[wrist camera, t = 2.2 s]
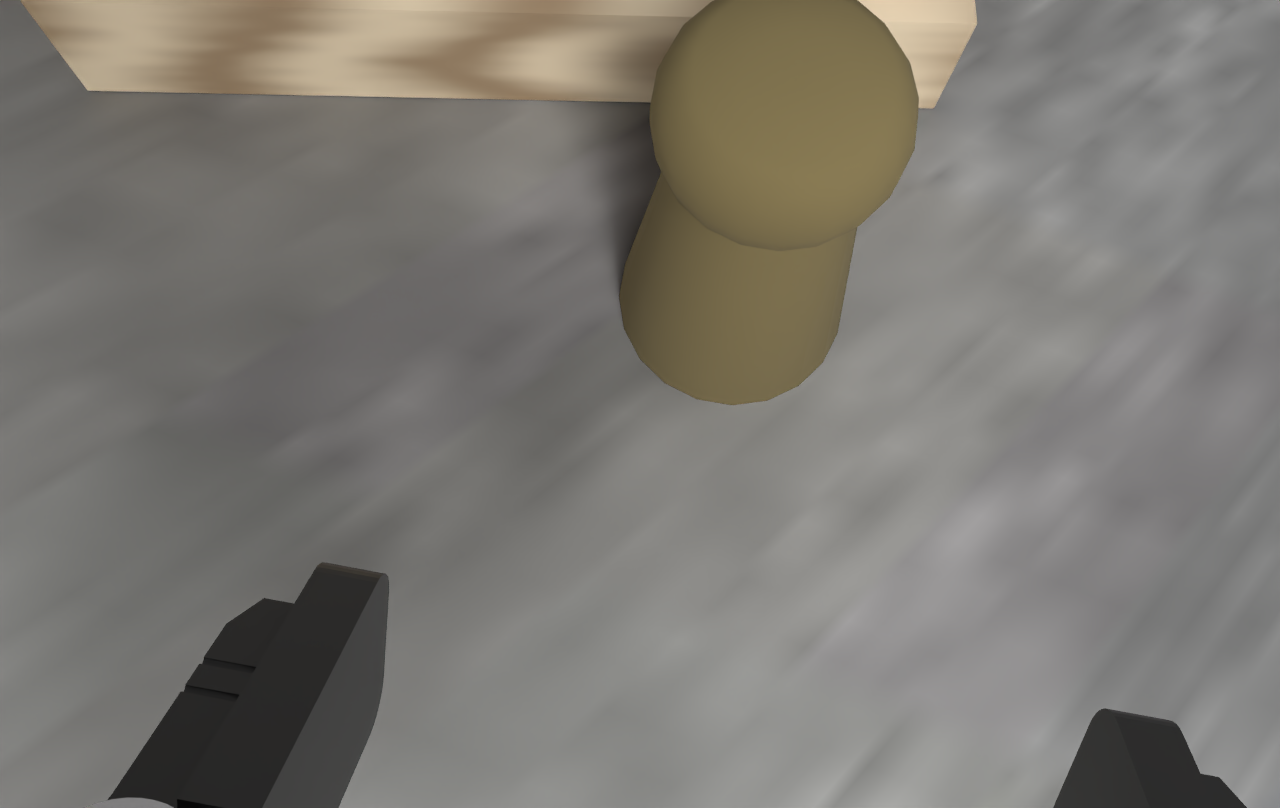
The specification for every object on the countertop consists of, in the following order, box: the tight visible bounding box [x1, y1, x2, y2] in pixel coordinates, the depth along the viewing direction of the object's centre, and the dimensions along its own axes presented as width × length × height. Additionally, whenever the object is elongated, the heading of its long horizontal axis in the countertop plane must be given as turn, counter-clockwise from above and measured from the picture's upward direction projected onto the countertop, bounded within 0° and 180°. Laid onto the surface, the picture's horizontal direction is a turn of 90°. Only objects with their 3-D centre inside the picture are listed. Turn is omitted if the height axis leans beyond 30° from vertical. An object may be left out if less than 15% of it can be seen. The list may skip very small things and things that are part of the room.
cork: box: [619, 0, 919, 405], centre depth 26 cm, size 6×6×11 cm
